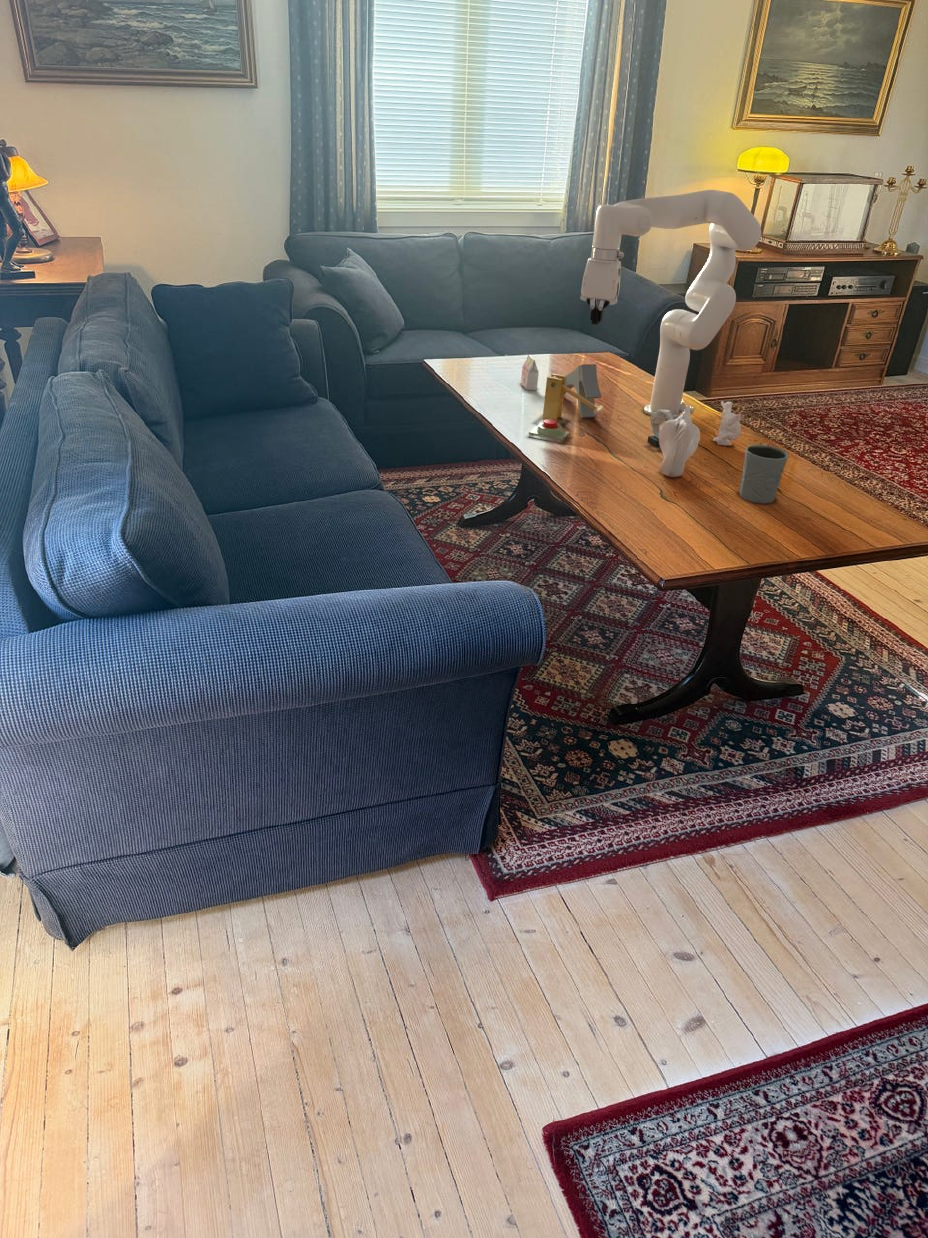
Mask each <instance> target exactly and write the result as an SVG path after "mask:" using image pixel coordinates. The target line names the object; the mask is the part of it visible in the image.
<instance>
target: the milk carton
mask: <svg viewBox="0 0 928 1238" xmlns="http://www.w3.org/2000/svg"><path fill="white" fill-rule="evenodd" d="M539 374H540V373H539V370H538V367H537V364H536V359H535V358H533V357H532V356H531V354H527V357H526V359H525V361H524V363H523V365H522V367H521V377H520V385H521V386H522V387H523V388H524V389H525V390H526V391H537V390H538V381H539Z"/></svg>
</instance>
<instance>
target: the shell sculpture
mask: <svg viewBox="0 0 928 1238" xmlns="http://www.w3.org/2000/svg"><path fill="white" fill-rule="evenodd" d="M685 405H686V410H685V409H684V416H683V411H682V414H681V415H680V416H679V417H678V418H677V419H674V420H670V421H668V420H667V421H664V422H663V423H662V424H661V425H660V426H659V429H660V431H659V445H660V447H659V448H660V450H661V453H662V456H663V460H662V462H661V465H660V467H659V472H660V473H661V474H662V475H665V476H667V477H670V478H676V477H679V476H682V475H683V474H684V472H685V467H686V466H685V464H686V463H687V461H688V459H689V458H691V457H692V456H693V455H694V454H695V452H696V451H697V450H698V447H699V442H700V441H701V435H700V434H701V429H700V428H699V427H698V426H697V425H696V424H694V423H693V421H692V415H691V413H690V406H691V405H689V406H687V405H688V404H685Z"/></svg>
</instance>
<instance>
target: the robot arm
mask: <svg viewBox="0 0 928 1238" xmlns="http://www.w3.org/2000/svg"><path fill="white" fill-rule="evenodd" d="M594 221H595V222H594V229H593V236H592V237H593V238H592V245H591V252H590V257H589V258H588V259H587V262H586V265H585V268H584V273H583V277H582V282H581V289H580V290H581V291H580V293H581V294H580V296H579V300H580V301H583V302H586V303H587V304H588V306H589V308H590V318H589V320H590V321H591V323H590V324H591V325H595V326H598V325H599V324H600V322H602V319H603V315H604V314H603V313H604V309H606V308H607V307H608V306H614V305H616V304H618V297H619V295H620V289H621V278H622V277H621V276H622V262H621V261H620V260H619V259H623V258H624V256H625V252H622V251H621V249H620V248H621V242H622V241H621V240H622V236H623V235H625V236H630V237H631V236H632V237H642V236H645V235H646V234H648V233H649V232H650V230H651V229H652V228H657V229H665V230H677V229H682V228H687V227H691V226H698V225H703V224H710V225H709V229H708V230H709V231H708V236H709V245H710V247H709V256H708V258H707V261H706V262H705V264H704V266H703V267H702V269H701V270H700V271H699V273H698V275H697V276H696V277H695V279H694V280H693V282H692V283H691V285H690V286H689V288H688V290H687V292H686V293H685V297H684V298H685V299H684V301H685V304H686V306H687V308H689V309H691V310H692V311H695V312H698V314H696V313H694V312H691V311H688V310H685V309H681V308H679V309H678V308H677V309H672V310H670V311H668V312H667V313H666V314H665V315H664V316H663V318H662V320H661V322H660V328H659V339H660V340H659V351H658V357H657V363H656V368H655V373H654V378H653V379H654V380H653V385H652V391H651V396H650V401H649V404H646V405H645V406H644V409H643V411H644V413H645V414H646V415H648V416H650V417H651V416H652V414H653V413H655V412H656V411H658V410H661V409H664V410H669V411H671V412H672V413H673V415H674V420H675V419H677V418H678V417H679V416H680V415H681V414H682V411H683V416H684V409H685V410H686V405H687V406H690V414H692V415H693V414H694V412H695V407H693V406H692V405H689V404H685V403H684V401H685V400H684V399H683V395H684V391H685V390H684V389H685V385H686V380H687V375H688V370H689V366H690V360H691V359H690V358H691V350H693V351H700V350H703V349H705V348H707V346H709V344H711V342H712V341H713V340H714V338H715V337H716V335H718V333H719V331H720V330H721V329H722V327H723V326H724V324H725V323H726V321H727V320H728V318H729V317H730V315H731V314H732V312H733V311H734V308H735V305H736V301H737V294H736V290H735V289H734V287H732V286H731V285H730V284H728V282H729V280H730V279H731V277H732V276H733V274H734V272H735V268H736V264H737V263H736V250H737V251H741V252H747V251H750V250H752V249H754V248H755V247H756V246H757V245H758V243H760V239H761V236H762V228H761V227H762V226H761V224H760V223H759V221H758V219H757V218H756V217H755V215H754V214H753V213H752V212H751V210H750V209H749V208H748V207H747V206H746V204H745V203H744V202H743V201H742V200H741V198H739V197H738V195H736V194H734V193H732V192H729V191H724V190H717V189H704V190H699V191H693V192H686V193H682V194H675V195H663V196H656V197H655V196H654V197H644V198H634V199H629V200H623V201H618V202H617V203H615V204H600V205H599V206H598V207H597V210H596V214H595V220H594ZM598 300H600V301H599V305H598Z"/></svg>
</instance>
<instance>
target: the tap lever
mask: <svg viewBox="0 0 928 1238" xmlns="http://www.w3.org/2000/svg"><path fill="white" fill-rule="evenodd" d="M553 378H558V377H556V376H554V377H553ZM562 382H563V381H562ZM561 389H562V390H564V391H566V394H569V395H570V396H572V397H573V398H575V399H576V400H577V401H578V400H580V401H581V402H583V403H584V404H586V405H588V406H589V407H591V408H592V409H594V414H595V415H598V414H600V412H602V411H603V409H604V406H603V405H602V404H600V405H598V406H597V405H596V404H595V405H594V404H593V403H591V402H590V401H588V400H586V399H585V398H583V397H582V396H580V395H579V394H577V392H576V391H574V390H573V389H572V388H571V389H569V388H568V387H566V386H565V385H563V384H561Z"/></svg>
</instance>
